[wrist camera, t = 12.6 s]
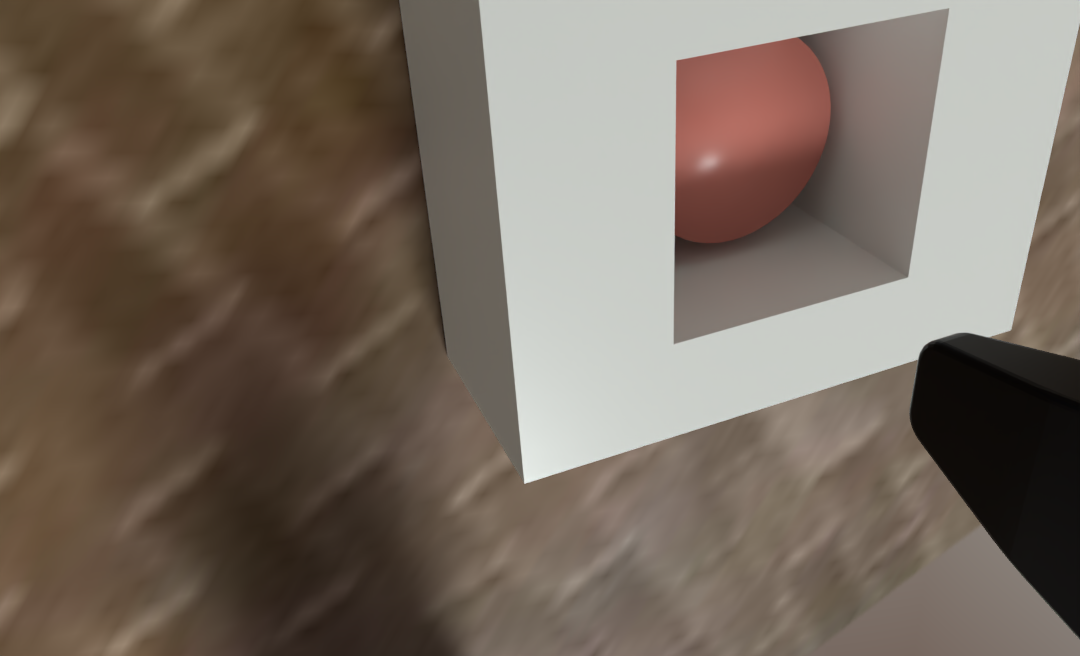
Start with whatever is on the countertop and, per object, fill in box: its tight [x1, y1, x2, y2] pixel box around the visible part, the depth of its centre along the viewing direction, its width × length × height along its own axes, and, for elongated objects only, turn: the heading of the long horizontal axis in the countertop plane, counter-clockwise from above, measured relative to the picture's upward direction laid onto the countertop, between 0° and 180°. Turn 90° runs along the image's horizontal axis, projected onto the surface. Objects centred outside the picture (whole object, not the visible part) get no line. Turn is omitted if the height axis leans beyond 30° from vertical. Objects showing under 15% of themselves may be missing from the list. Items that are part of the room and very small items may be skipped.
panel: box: [399, 0, 1080, 484], centre depth 20 cm, size 12×10×5 cm
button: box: [675, 37, 831, 243], centre depth 21 cm, size 5×5×2 cm
